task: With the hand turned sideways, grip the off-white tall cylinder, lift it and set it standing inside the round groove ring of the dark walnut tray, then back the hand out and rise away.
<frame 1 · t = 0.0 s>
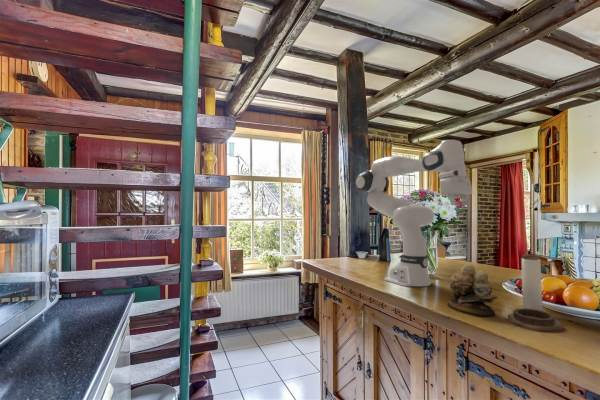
hand: (459, 205, 133), 39 cm above the counter, tool pointing down, fingers open, 8 cm apart
groove tray: (533, 323, 98), on the counter
off-white tall cylinder: (532, 312, 108), on the counter
owl figurine: (471, 310, 111), on the counter
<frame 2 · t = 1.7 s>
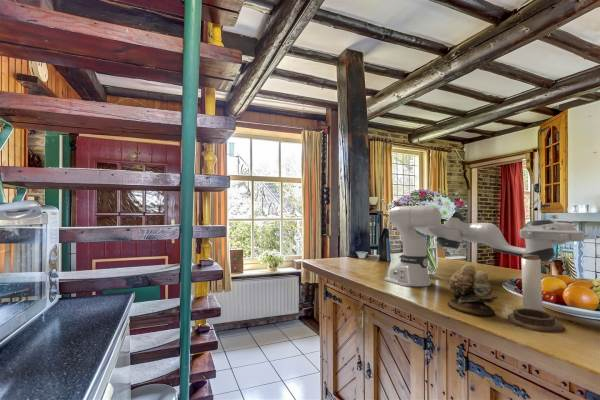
hand: (544, 236, 118), 26 cm above the counter, tool horizontal, fingers open, 8 cm apart
nothing on the counter moved.
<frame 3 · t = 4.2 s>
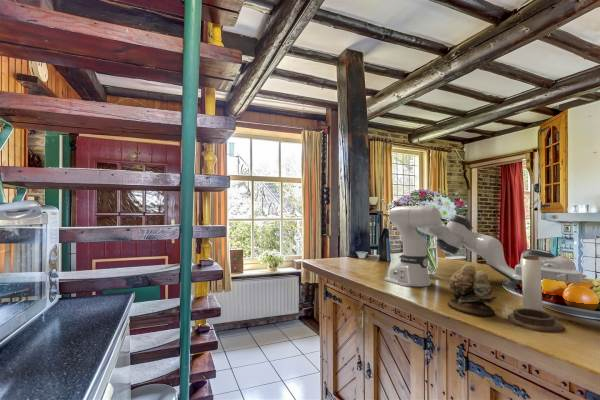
hand: (540, 276, 112), 12 cm above the counter, tool horizontal, fingers open, 8 cm apart
nothing on the counter moved.
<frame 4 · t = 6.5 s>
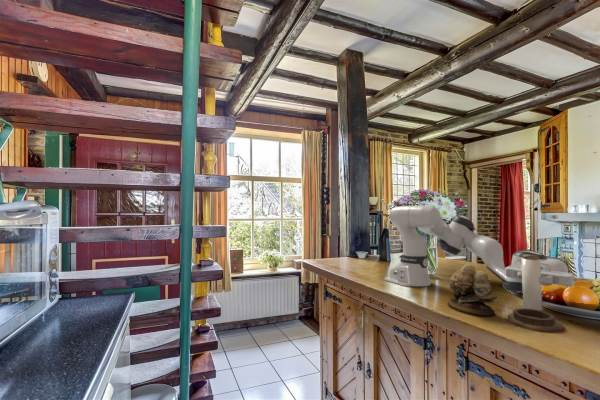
hand: (530, 278, 108), 12 cm above the counter, tool horizontal, fingers closed on off-white tall cylinder, 5 cm apart
off-white tall cylinder: (532, 312, 108), on the counter, touching gripper
everything else where it was.
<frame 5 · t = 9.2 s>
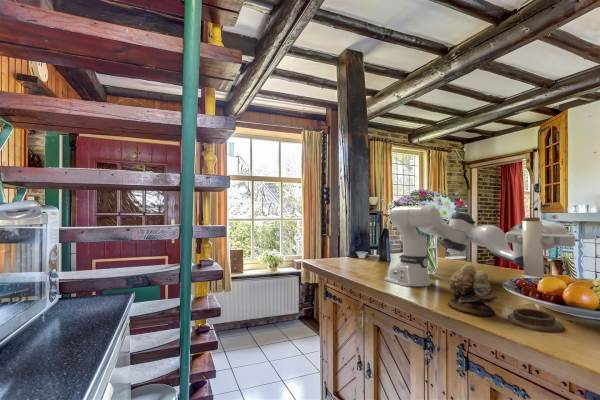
hand: (531, 240, 106), 26 cm above the counter, tool horizontal, fingers closed on off-white tall cylinder, 5 cm apart
off-white tall cylinder: (533, 275, 106), point 14 cm above the counter, touching gripper
everything else where it was.
when the fingers open (14 cm above the counter, at t = 12.0 s): off-white tall cylinder drops 1 cm, resting on groove tray.
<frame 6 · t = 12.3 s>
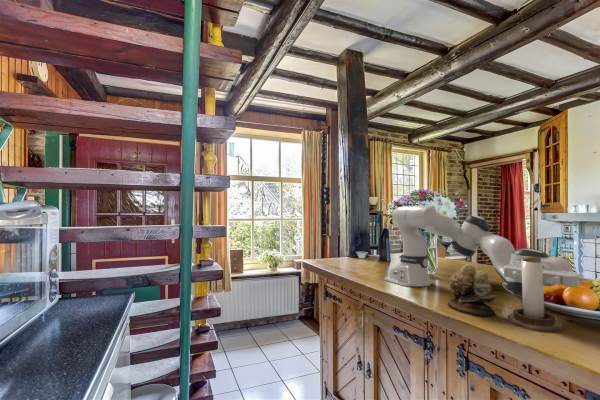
hand: (531, 278, 97), 14 cm above the counter, tool horizontal, fingers open, 8 cm apart
off-white tall cylinder: (533, 319, 98), point 1 cm above the counter, touching groove tray
everything else where it was.
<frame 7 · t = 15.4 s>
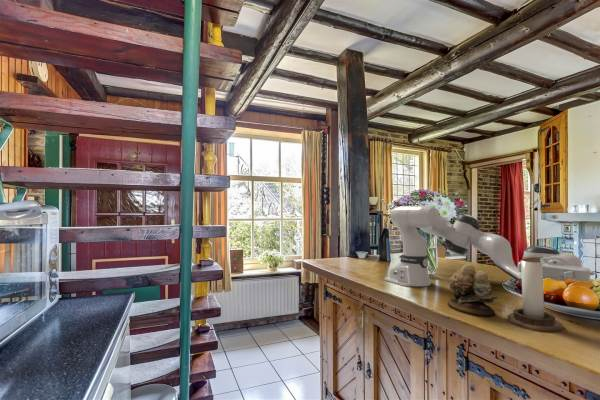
hand: (545, 273, 105), 15 cm above the counter, tool horizontal, fingers open, 8 cm apart
nothing on the counter moved.
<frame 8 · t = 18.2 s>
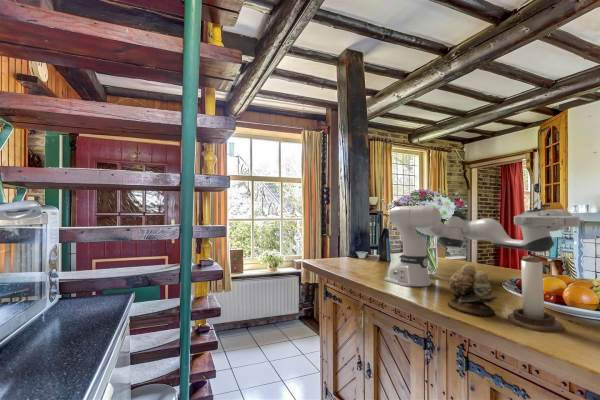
hand: (538, 221, 114), 32 cm above the counter, tool horizontal, fingers open, 8 cm apart
nothing on the counter moved.
at the end: off-white tall cylinder 0.1 cm off-centre on the groove tray, point 1.0 cm above the groove tray's base; off-white tall cylinder tilted 0°; the gripper is holding nothing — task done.
